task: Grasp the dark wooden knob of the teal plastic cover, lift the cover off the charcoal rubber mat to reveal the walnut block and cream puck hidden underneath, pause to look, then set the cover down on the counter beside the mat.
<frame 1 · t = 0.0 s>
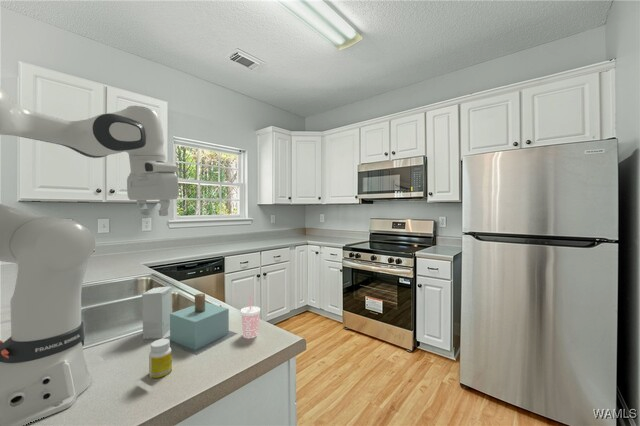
hand: (154, 215, 81), 39 cm above the counter, tool pointing down, fingers open, 8 cm apart
cover: (200, 336, 87), point 1 cm above the counter, touching mat
beverage cup: (250, 338, 88), on the counter
supplement bottle: (160, 377, 68), on the counter
skincare box: (158, 336, 89), on the counter
mat: (200, 339, 87), on the counter
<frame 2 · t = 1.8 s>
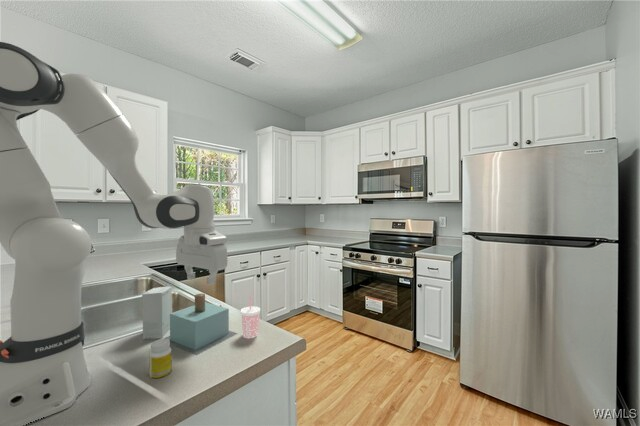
hand: (200, 281, 87), 18 cm above the counter, tool pointing down, fingers open, 8 cm apart
nothing on the counter moved.
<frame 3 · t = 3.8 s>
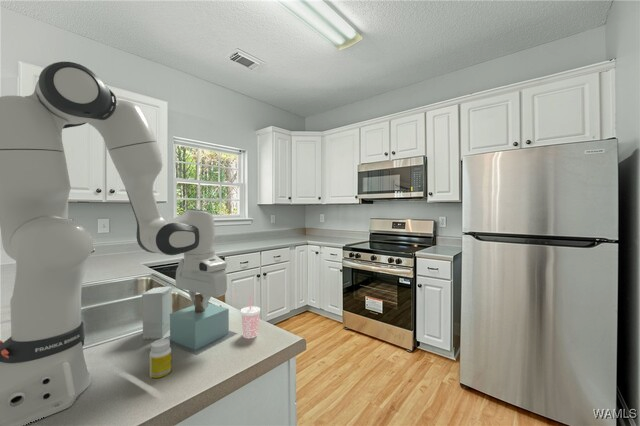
hand: (199, 306, 86), 11 cm above the counter, tool pointing down, fingers closed on cover, 3 cm apart
cover: (200, 336, 87), point 1 cm above the counter, touching gripper, mat
everything else where it was.
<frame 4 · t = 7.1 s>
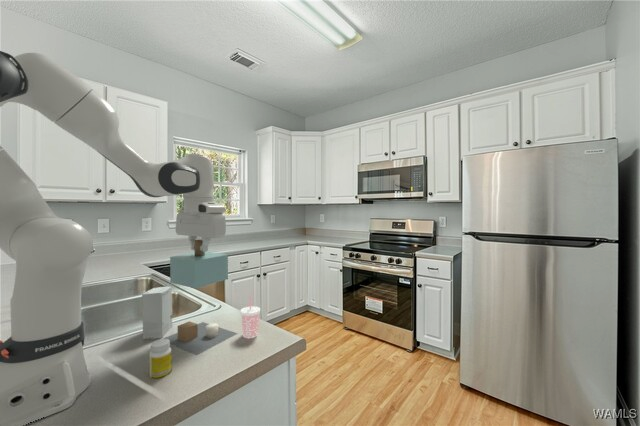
hand: (199, 250, 88), 28 cm above the counter, tool pointing down, fingers closed on cover, 3 cm apart
cover: (199, 280, 88), point 18 cm above the counter, touching gripper
everything else where it was.
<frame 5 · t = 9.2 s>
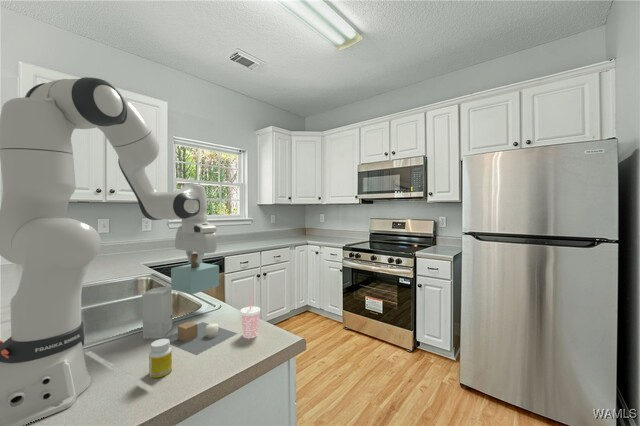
hand: (195, 262, 106), 20 cm above the counter, tool pointing down, fingers closed on cover, 3 cm apart
cover: (195, 287, 107), point 10 cm above the counter, touching gripper
everything else where it was.
when the fingers open (11 cm above the counter, at t = 10.7 s): cover drops 1 cm, on the counter.
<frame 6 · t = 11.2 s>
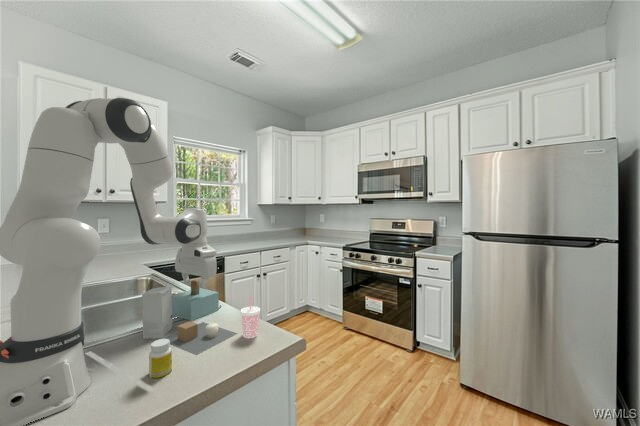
hand: (194, 285, 106), 11 cm above the counter, tool pointing down, fingers open, 8 cm apart
cover: (195, 314, 107), on the counter
everything else where it was.
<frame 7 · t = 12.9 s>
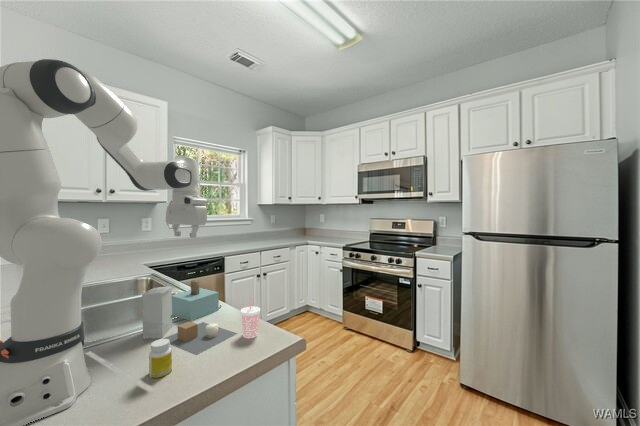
hand: (185, 236, 105), 30 cm above the counter, tool pointing down, fingers open, 8 cm apart
nothing on the counter moved.
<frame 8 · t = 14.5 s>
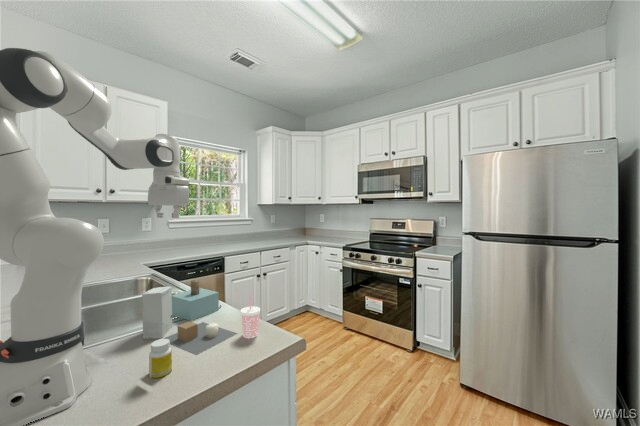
hand: (167, 218, 103), 37 cm above the counter, tool pointing down, fingers open, 8 cm apart
nothing on the counter moved.
at the end: cover inside the target area (0.0 cm from its centre), on the counter; cover tilted 0°; the gripper is holding nothing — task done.
